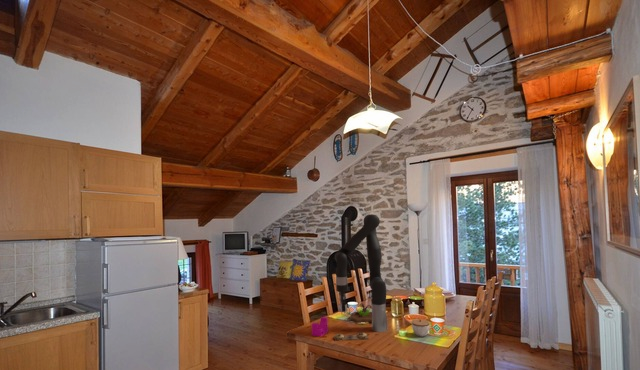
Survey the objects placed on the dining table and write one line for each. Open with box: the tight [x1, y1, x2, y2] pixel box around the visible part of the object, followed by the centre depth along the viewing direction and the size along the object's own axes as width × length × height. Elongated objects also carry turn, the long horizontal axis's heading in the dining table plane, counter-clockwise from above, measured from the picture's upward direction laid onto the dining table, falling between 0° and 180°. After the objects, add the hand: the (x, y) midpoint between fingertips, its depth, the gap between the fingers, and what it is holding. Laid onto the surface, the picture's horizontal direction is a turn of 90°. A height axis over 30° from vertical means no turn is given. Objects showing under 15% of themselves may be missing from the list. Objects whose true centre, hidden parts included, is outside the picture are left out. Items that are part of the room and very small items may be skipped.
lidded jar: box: [411, 318, 430, 337], centre depth 220 cm, size 11×11×9 cm
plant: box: [349, 303, 372, 324], centre depth 254 cm, size 20×20×11 cm
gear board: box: [333, 332, 370, 342], centre depth 216 cm, size 21×6×3 cm, turn 95°
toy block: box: [311, 316, 329, 337], centre depth 228 cm, size 15×6×8 cm, turn 153°
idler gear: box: [337, 303, 348, 313], centre depth 227 cm, size 6×5×4 cm
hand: (343, 309), depth 227 cm, fingers closed on idler gear, 5 cm apart
